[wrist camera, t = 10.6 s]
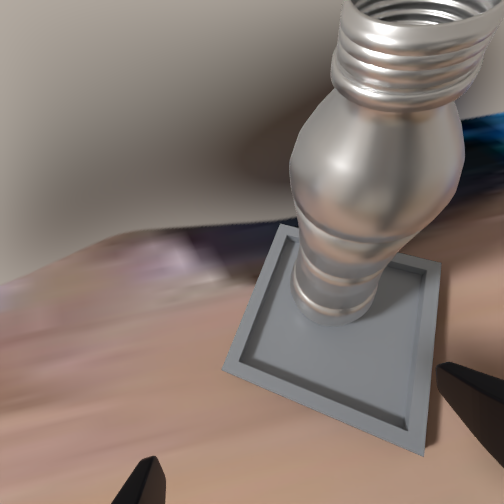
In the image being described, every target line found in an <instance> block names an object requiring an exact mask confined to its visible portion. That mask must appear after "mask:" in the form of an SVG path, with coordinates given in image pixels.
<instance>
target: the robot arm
mask: <svg viewBox="0 0 504 504" xmlns="http://www.w3.org/2000/svg"><path fill="white" fill-rule="evenodd" d="M436 377H437V387H438V389H439V392H440V393H441V395H442V396H443V397H444V398H445V400H446V401H447V402H448V403H449V405H450V406H451V407H452V408H453V410H454V411H455V412H456V413H457V415H458V416H459V417H460V418H461V420H462V421H463V422H464V423H465V425H466V426H467V427H468V428H469V430H470V431H471V432H472V433H473V435H474V436H475V437H476V438H477V439H478V441H479V442H480V443H481V444H482V445H483V446H484V447H485V449H486V450H487V451H488V452H489V453H490V454H491V455H492V456H493V457H494V458H495V459H496V460H497V461H498V463H499V464H500V465H501V466H502V467H503V468H504V380H502V379H499V378H496V377H493V376H490V375H487V374H484V373H482V372H479V371H476V370H473V369H470V368H467V367H464V366H461V365H458V364H456V363H453V362H445V363H442V364H439V365H437V366H436ZM165 496H166V478H165V474H164V472H163V470H162V467H161V465H160V463H159V461H158V459H157V457H156V456H150V457H147V458H144V459H142V460H141V461H140V462H139V463H138V465H137V466H136V468H135V469H134V471H133V472H132V473H131V475H130V476H129V478H128V479H127V481H126V482H125V484H124V485H123V487H122V488H121V490H120V491H119V493H118V494H117V496H116V497H115V499H114V500H113V502H112V503H111V504H165Z"/></svg>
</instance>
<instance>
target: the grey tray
mask: <svg viewBox="0 0 504 504" xmlns="http://www.w3.org/2000/svg"><path fill="white" fill-rule="evenodd" d="M299 239H300V238H299V228H295V227H291V226H287V225H283V224H280V226H279V228H278V231H277V233H276V236H275V238H274V241H273V243H272V246H271V248H270V251H269V253H268V256H267V258H266V261H265V263H264V265H263V268H262V270H261V273H260V275H259V278H258V280H257V283H256V285H255V288H254V290H253V293H252V295H251V298H250V300H249V303H248V305H247V308H246V310H245V313H244V315H243V318H242V320H241V323H240V325H239V327H238V330H237V332H236V335H235V337H234V340H233V342H232V345H231V347H230V350H229V352H228V355H227V357H226V360H225V362H224V365H223V367H222V370H223V371H225V372H227V373H230V374H232V375H234V376H237V377H239V378H241V379H244V380H246V381H248V382H251V383H253V384H255V385H257V386H260V387H262V388H264V389H267V390H269V391H271V392H274V393H276V394H278V395H281V396H283V397H285V398H288V399H290V400H292V401H295V402H297V403H299V404H302V405H304V406H306V407H309V408H311V409H313V410H316V411H318V412H320V413H323V414H325V415H327V416H330V417H332V418H334V419H336V420H339V421H341V422H343V423H346V424H348V425H350V426H353V427H355V428H357V429H360V430H362V431H364V432H367V433H369V434H371V435H374V436H376V437H378V438H381V439H383V440H385V441H388V442H390V443H392V444H395V445H397V446H399V447H402V448H404V449H406V450H408V451H411V452H413V453H416V454H418V455H420V456H423V457H424V449H425V439H426V428H427V417H428V406H429V395H430V384H431V373H432V362H433V351H434V340H435V329H436V318H437V307H438V296H439V285H440V274H441V263H439V262H435V261H431V260H427V259H423V258H419V257H415V256H411V255H406V254H402V253H397V254H396V255H395V256H394V257H393V259H392V260H391V261H390V262H389V263H388V264H387V266H386V267H385V268H384V270H383V272H382V274H381V277H380V279H379V281H378V287H377V291H376V294H375V297H374V300H373V302H372V305H371V306H370V308H369V309H368V311H367V312H366V313H365V314H364V315H363V316H361V317H360V318H358V319H357V320H355V321H353V322H351V323H348V324H345V325H343V326H336V327H330V326H323V325H320V324H317V323H315V322H313V321H311V320H310V319H308V318H307V317H306V316H305V315H304V314H303V313H302V312H301V311H300V310H299V308H298V306H297V305H296V303H295V301H294V299H293V296H292V293H291V289H290V276H291V273H292V269H293V266H294V262H295V260H296V259H297V255H298V250H299V245H300V243H299Z"/></svg>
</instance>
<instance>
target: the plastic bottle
mask: <svg viewBox="0 0 504 504" xmlns="http://www.w3.org/2000/svg"><path fill="white" fill-rule="evenodd" d="M503 17H504V0H344V1H343V4H342V9H341V18H340V26H339V35H338V43H337V47H336V48H335V50H334V53H333V56H332V65H331V80H332V83H333V86H334V87H335V89H333V91H332V92H331V93H330V94H329V95H328V96H327V97H326V98H325V99H324V100H323V101H322V102H321V103H320V104H319V106H318V107H317V108H316V110H315V111H314V112H313V114H312V115H311V116H310V118H309V119H308V120H307V122H306V123H305V124H304V126H303V127H302V129H301V131H300V133H299V135H298V138H297V141H296V144H295V147H294V149H293V152H292V155H291V158H290V167H289V172H290V183H291V189H292V195H293V199H294V204H295V209H296V214H297V218H298V223H299V238H300V239H299V243H300V245H299V250H298V255H297V259H296V260H295V262H294V266H293V269H292V273H291V276H290V289H291V293H292V296H293V299H294V301H295V303H296V305H297V306H298V308H299V310H300V311H301V312H302V313H303V314H304V315H305V316H306V317H307V318H308V319H310V320H311V321H313V322H315V323H317V324H320V325H323V326H330V327H336V326H343V325H345V324H348V323H351V322H353V321H355V320H357V319H358V318H360V317H361V316H363V315H364V314H365V313H366V312H367V311H368V309H369V308H370V306H371V305H372V302H373V300H374V297H375V294H376V291H377V287H378V281H379V279H380V277H381V274H382V272H383V270H384V268H385V267H386V266H387V264H388V263H389V262H390V261H391V260H392V259H393V257H394V256H395V255H396V254H397V253H398V251H399V250H400V249H401V248H402V247H403V246H404V245H406V244H407V243H408V242H409V241H410V240H411V239H412V238H413V237H414V236H416V235H417V234H418V233H419V232H420V231H421V230H422V229H423V228H425V227H426V226H427V225H428V224H429V223H430V222H431V221H432V220H433V219H435V218H436V216H437V215H438V214H439V213H440V212H441V211H442V210H443V209H444V208H445V207H446V205H447V204H448V203H449V202H450V200H451V198H452V197H453V195H454V194H455V192H456V189H457V185H458V182H459V179H460V175H461V171H462V168H463V164H464V160H465V147H464V140H463V132H462V125H461V121H460V118H459V115H458V111H457V108H456V105H455V102H454V100H456V99H458V98H459V97H460V96H461V95H463V94H464V93H465V92H466V91H467V89H468V88H469V87H470V86H471V84H472V83H473V81H474V79H475V77H476V76H477V74H478V72H479V70H480V68H481V66H482V63H483V60H484V57H483V54H484V52H485V50H486V49H487V47H488V45H489V43H490V41H491V39H492V37H493V36H494V34H495V32H496V30H497V29H498V27H499V25H500V23H501V21H502V19H503Z"/></svg>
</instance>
